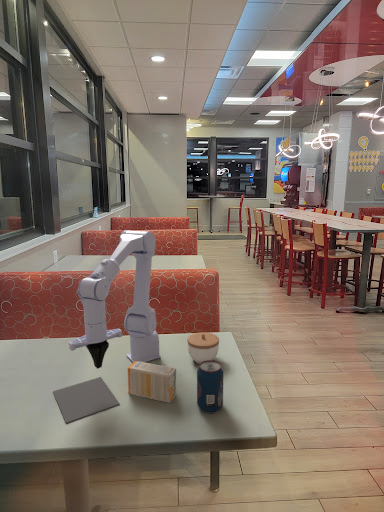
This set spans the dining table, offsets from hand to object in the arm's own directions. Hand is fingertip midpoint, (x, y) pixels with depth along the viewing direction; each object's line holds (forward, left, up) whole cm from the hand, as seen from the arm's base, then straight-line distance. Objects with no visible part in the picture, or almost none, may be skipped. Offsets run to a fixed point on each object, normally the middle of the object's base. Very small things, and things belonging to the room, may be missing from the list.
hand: (98, 366), depth 96 cm
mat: (+4, 0, -8) cm, 9 cm away
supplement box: (-9, +3, -4) cm, 10 cm away
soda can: (-23, +22, -9) cm, 33 cm away
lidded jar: (-36, 0, -9) cm, 37 cm away
